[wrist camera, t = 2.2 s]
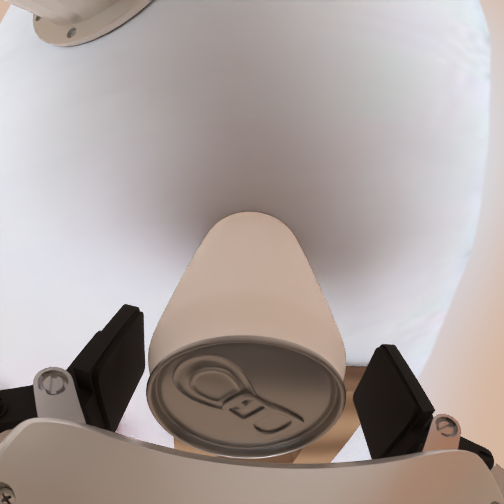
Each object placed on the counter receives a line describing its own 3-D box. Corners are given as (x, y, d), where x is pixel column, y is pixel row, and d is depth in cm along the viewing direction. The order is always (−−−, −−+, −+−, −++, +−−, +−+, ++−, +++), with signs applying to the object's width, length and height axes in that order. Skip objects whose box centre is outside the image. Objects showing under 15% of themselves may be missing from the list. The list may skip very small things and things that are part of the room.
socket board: (181, 346, 21) (172, 372, 18) (371, 367, 21) (382, 390, 19) (179, 446, 26) (175, 466, 23) (314, 457, 27) (317, 477, 24)
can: (252, 187, 17) (249, 261, 5) (320, 261, 18) (396, 403, 7) (179, 257, 18) (95, 394, 7) (248, 320, 20) (244, 477, 8)
